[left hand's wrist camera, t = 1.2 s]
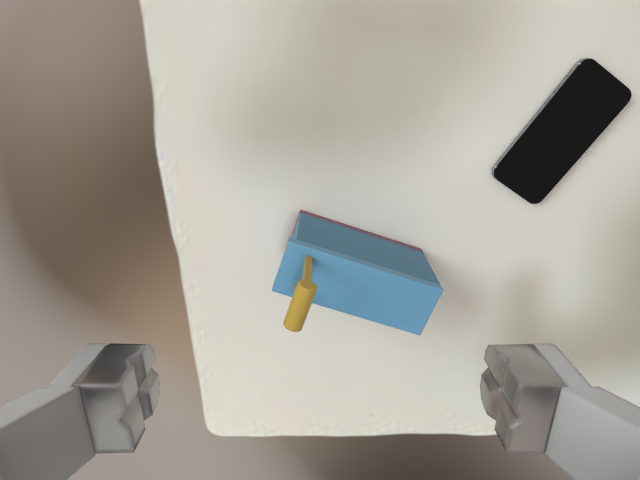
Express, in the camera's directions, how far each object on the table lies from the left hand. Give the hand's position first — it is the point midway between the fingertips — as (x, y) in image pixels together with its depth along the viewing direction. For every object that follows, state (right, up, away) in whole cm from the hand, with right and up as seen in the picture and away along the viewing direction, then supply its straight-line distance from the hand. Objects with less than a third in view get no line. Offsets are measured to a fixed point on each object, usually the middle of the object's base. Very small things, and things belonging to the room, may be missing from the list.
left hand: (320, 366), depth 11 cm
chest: (+4, +2, +43) cm, 43 cm away
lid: (+4, -2, +34) cm, 34 cm away
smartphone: (+26, +15, +37) cm, 48 cm away
